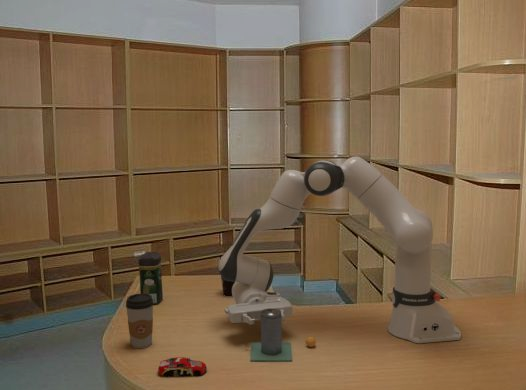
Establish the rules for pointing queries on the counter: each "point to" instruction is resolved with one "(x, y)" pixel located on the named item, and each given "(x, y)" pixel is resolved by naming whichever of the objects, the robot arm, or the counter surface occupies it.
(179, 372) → the race car
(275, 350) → the canister
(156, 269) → the coffee jar
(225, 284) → the coffee mug
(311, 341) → the ball
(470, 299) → the counter surface
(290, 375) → the counter surface
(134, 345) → the coffee cup
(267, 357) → the mat
